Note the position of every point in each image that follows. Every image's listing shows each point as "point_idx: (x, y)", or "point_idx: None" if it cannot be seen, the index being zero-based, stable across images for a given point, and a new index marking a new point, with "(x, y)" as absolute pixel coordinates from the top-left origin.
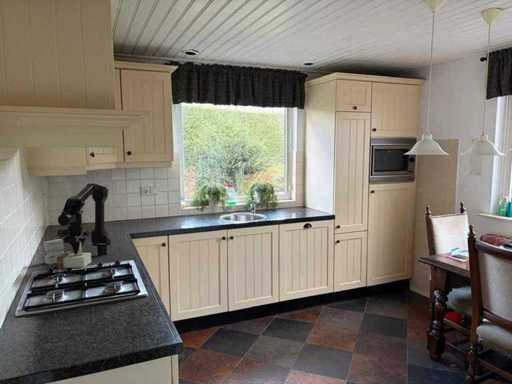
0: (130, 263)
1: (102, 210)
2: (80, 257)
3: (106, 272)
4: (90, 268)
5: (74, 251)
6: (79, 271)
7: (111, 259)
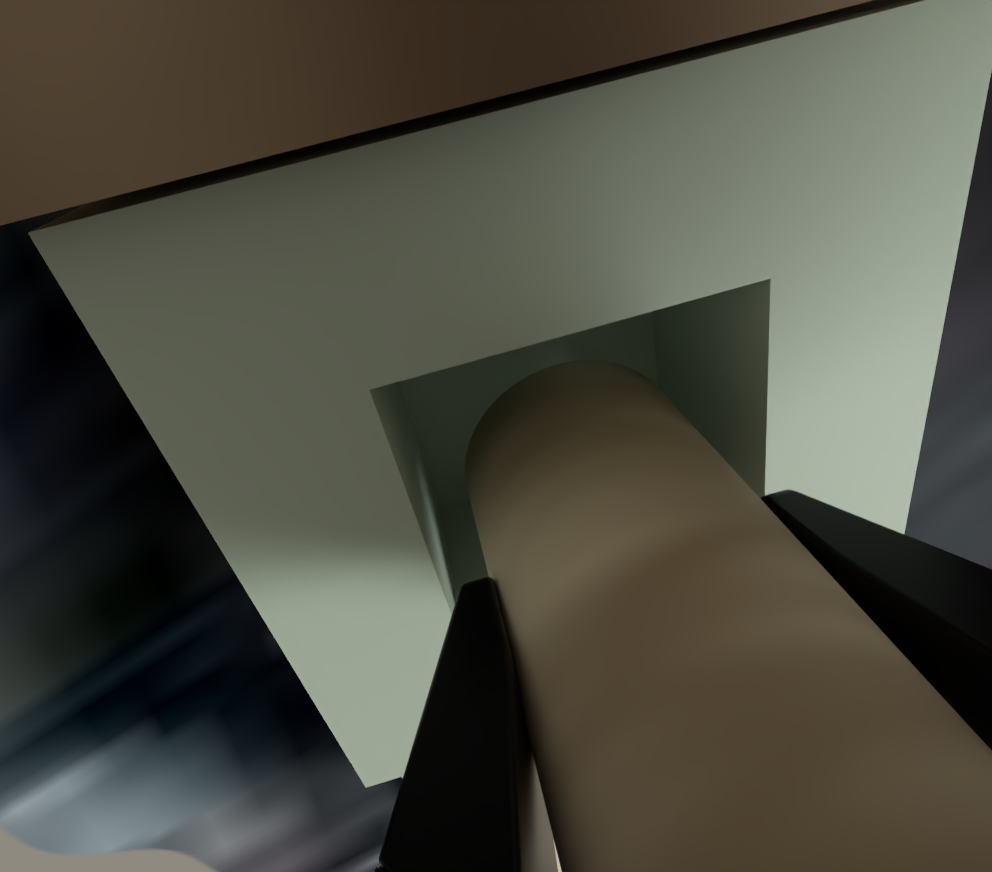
0: None
1: None
2: (337, 733)
3: (278, 868)
4: None
5: (439, 690)
6: (218, 564)
7: (978, 558)
